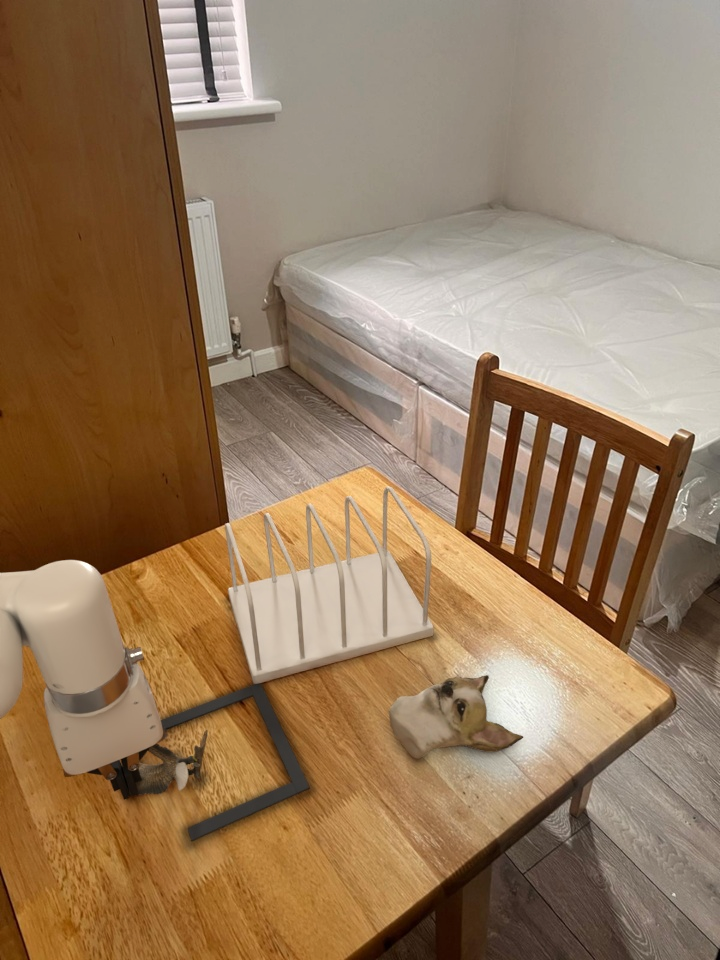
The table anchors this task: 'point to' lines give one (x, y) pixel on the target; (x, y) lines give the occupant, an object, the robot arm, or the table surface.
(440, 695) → the ceramic sculpture
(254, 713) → the table surface
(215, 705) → the frame
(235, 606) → the file sorter
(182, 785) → the eagle figurine
